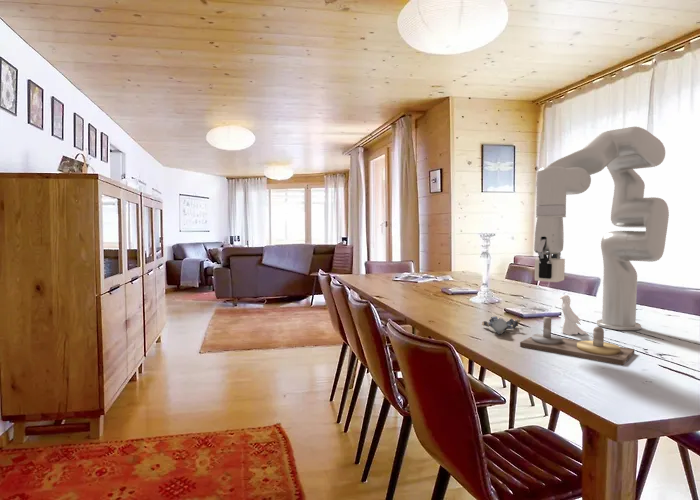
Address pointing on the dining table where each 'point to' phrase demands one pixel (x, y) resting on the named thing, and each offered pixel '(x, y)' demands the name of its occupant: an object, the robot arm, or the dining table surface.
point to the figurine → (570, 318)
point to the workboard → (578, 346)
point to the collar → (557, 270)
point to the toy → (501, 324)
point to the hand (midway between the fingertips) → (549, 276)
